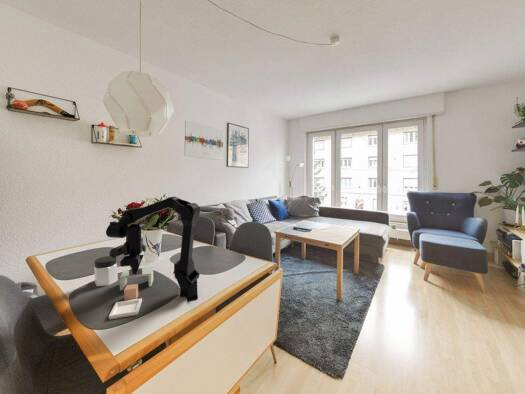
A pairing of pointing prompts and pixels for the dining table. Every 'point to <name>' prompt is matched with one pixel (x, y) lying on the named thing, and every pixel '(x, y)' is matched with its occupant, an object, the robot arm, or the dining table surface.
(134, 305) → the dish
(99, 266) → the jar
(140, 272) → the cover
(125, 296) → the block
